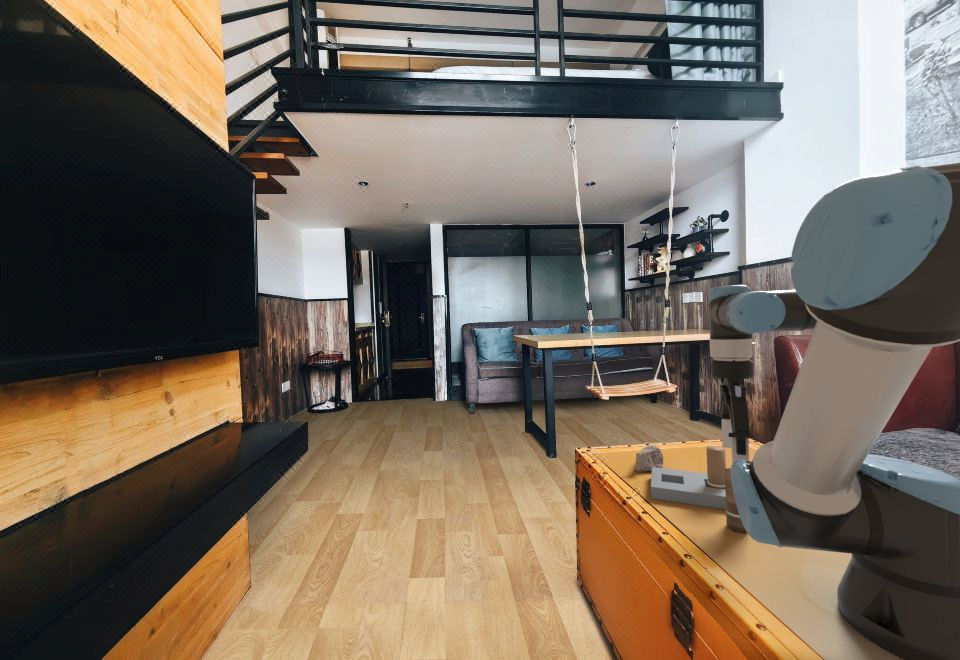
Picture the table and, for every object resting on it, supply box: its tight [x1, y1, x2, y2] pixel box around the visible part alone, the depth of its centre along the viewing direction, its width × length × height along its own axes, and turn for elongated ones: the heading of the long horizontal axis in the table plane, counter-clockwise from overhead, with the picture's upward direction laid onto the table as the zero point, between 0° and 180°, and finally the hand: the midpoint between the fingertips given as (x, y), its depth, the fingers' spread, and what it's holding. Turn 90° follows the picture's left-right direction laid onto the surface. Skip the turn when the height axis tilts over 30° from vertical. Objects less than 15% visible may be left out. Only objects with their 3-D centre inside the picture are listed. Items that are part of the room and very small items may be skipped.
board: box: [650, 445, 727, 511], centre depth 96 cm, size 14×20×12 cm
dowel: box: [725, 467, 748, 534], centre depth 79 cm, size 4×4×12 cm
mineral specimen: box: [634, 444, 664, 473], centre depth 114 cm, size 13×7×6 cm, turn 143°
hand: (734, 457), depth 80 cm, fingers open, 13 cm apart
